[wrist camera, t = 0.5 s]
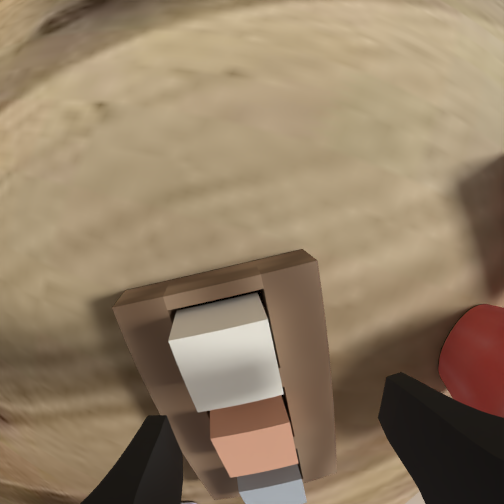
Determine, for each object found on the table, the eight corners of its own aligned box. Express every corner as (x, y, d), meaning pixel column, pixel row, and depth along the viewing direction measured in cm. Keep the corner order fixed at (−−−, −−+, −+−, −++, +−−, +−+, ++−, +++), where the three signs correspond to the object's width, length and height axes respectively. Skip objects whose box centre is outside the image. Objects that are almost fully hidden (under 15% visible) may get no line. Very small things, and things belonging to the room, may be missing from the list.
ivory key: (199, 375, 15) (197, 412, 12) (176, 310, 14) (168, 340, 11) (272, 359, 15) (283, 394, 12) (257, 292, 14) (267, 319, 11)
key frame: (213, 477, 20) (214, 500, 17) (125, 290, 16) (112, 307, 13) (327, 452, 21) (336, 473, 18) (302, 249, 16) (317, 260, 14)
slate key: (247, 484, 18) (252, 514, 15) (234, 459, 17) (238, 492, 14) (297, 473, 18) (306, 502, 15) (291, 446, 17) (301, 478, 14)
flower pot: (399, 387, 20) (466, 467, 10) (470, 265, 18) (568, 307, 9) (458, 400, 22) (512, 454, 12) (514, 307, 20) (581, 344, 11)
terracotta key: (227, 443, 16) (230, 477, 14) (209, 401, 15) (210, 438, 13) (287, 430, 17) (298, 463, 14) (278, 386, 16) (289, 422, 13)
